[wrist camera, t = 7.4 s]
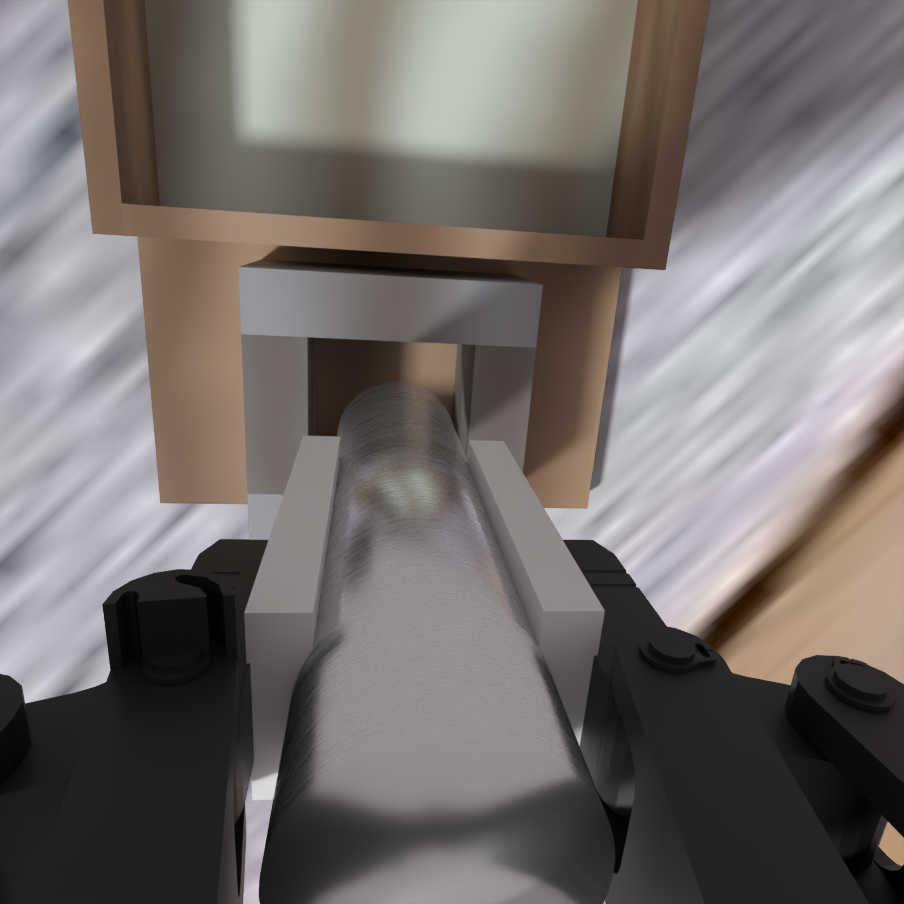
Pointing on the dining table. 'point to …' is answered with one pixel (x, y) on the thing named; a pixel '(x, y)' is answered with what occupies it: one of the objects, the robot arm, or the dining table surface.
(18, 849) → the robot arm
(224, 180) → the board
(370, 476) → the rod
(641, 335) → the dining table surface
